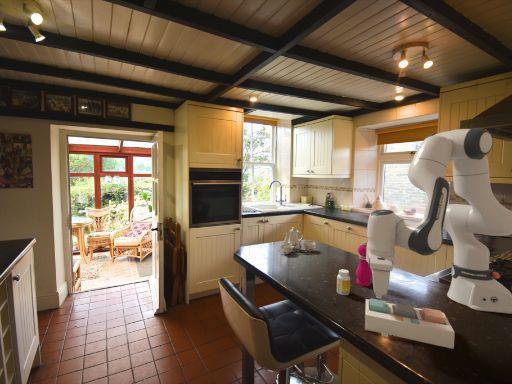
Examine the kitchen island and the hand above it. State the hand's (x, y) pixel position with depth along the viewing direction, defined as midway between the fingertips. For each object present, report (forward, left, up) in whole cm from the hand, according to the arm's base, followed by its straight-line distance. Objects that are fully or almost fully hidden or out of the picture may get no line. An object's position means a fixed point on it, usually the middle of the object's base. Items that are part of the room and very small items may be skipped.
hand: (378, 296), depth 90 cm
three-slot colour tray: (-8, +1, -9) cm, 12 cm away
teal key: (0, 0, -5) cm, 5 cm away
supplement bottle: (+13, -19, -9) cm, 25 cm away
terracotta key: (-16, 0, -5) cm, 17 cm away
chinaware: (+48, -72, -9) cm, 87 cm away
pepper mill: (+5, -33, -9) cm, 35 cm away
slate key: (-8, 0, -5) cm, 10 cm away
